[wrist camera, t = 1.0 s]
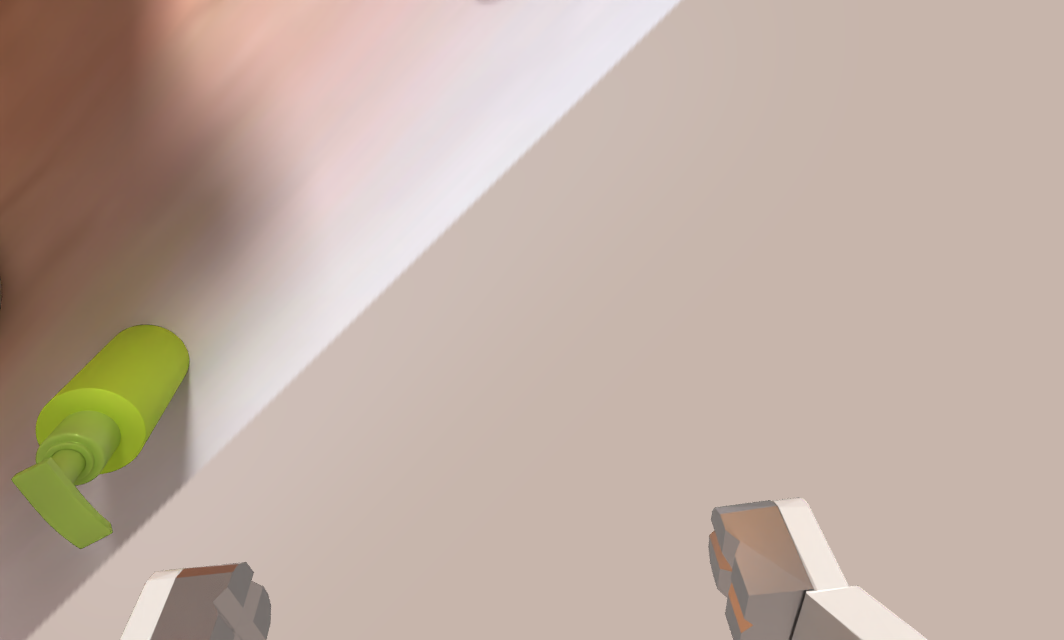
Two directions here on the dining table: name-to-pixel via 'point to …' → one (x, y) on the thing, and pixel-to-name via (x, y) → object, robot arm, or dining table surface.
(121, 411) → the soap dispenser
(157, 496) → the dining table surface
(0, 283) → the slate coaster
